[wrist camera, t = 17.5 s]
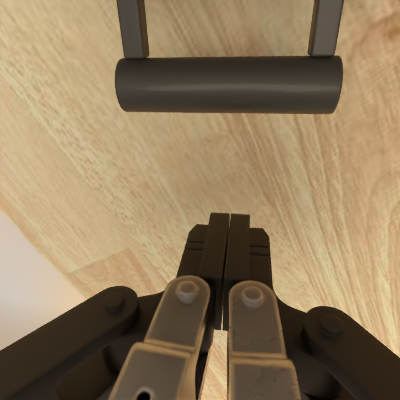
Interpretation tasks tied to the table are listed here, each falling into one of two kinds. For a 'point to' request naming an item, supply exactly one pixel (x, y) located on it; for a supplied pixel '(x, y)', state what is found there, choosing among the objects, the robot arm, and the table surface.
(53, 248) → the table surface
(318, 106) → the drawer
